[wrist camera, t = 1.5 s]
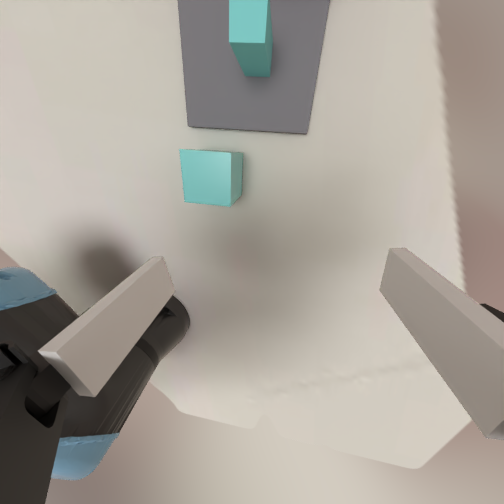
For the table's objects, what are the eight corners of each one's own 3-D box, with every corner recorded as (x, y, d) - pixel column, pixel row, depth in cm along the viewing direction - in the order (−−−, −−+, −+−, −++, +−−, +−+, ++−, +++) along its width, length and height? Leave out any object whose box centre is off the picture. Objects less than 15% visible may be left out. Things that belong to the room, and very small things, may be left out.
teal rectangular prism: (205, 191, 27) (184, 202, 21) (203, 149, 25) (179, 149, 19) (241, 194, 27) (230, 206, 21) (243, 152, 24) (230, 152, 18)
